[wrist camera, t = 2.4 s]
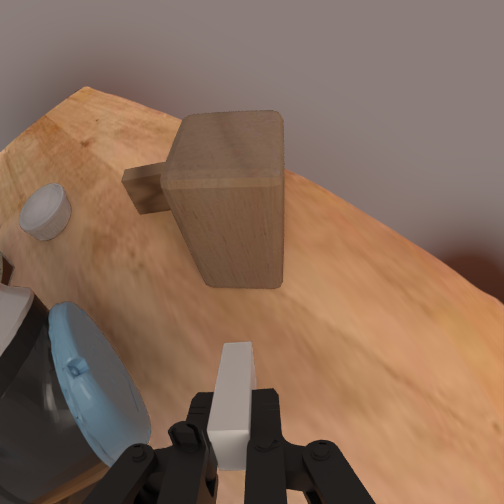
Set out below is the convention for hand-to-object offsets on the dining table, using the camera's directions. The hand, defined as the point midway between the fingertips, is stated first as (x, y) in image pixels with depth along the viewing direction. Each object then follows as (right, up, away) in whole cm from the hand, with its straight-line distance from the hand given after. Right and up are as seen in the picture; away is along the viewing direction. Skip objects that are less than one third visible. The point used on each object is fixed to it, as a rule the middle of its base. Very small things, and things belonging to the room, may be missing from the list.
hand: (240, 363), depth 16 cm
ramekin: (-38, +12, +33) cm, 52 cm away
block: (0, +5, +25) cm, 26 cm away
